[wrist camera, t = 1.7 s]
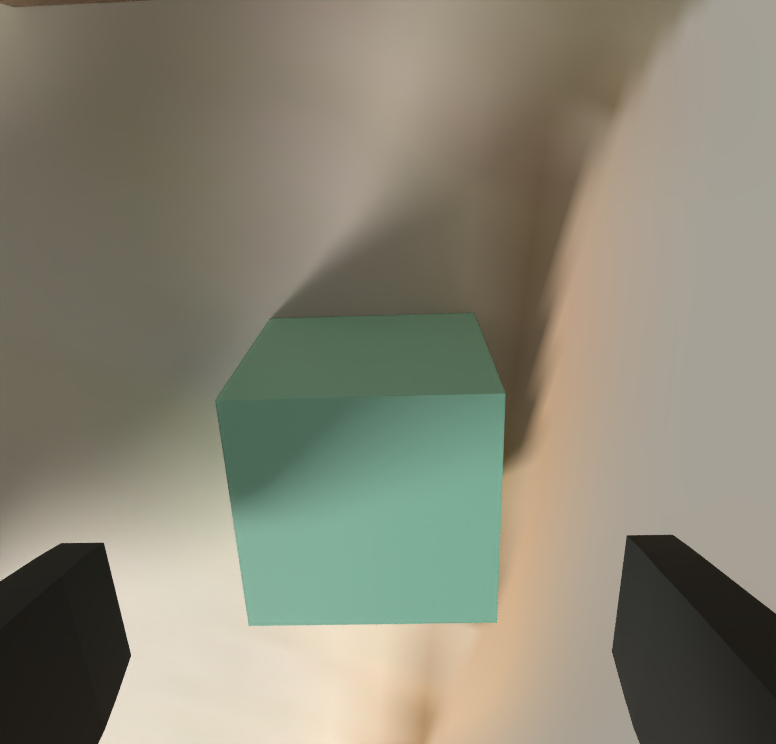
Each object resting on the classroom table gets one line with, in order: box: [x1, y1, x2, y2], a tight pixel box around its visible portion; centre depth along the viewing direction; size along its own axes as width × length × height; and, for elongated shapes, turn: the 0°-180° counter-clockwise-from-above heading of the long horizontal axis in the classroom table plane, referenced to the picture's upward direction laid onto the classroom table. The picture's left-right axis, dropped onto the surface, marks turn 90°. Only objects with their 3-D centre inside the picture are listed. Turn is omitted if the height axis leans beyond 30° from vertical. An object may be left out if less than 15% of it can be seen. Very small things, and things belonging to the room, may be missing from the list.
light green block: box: [215, 313, 506, 626], centre depth 13 cm, size 4×4×4 cm
